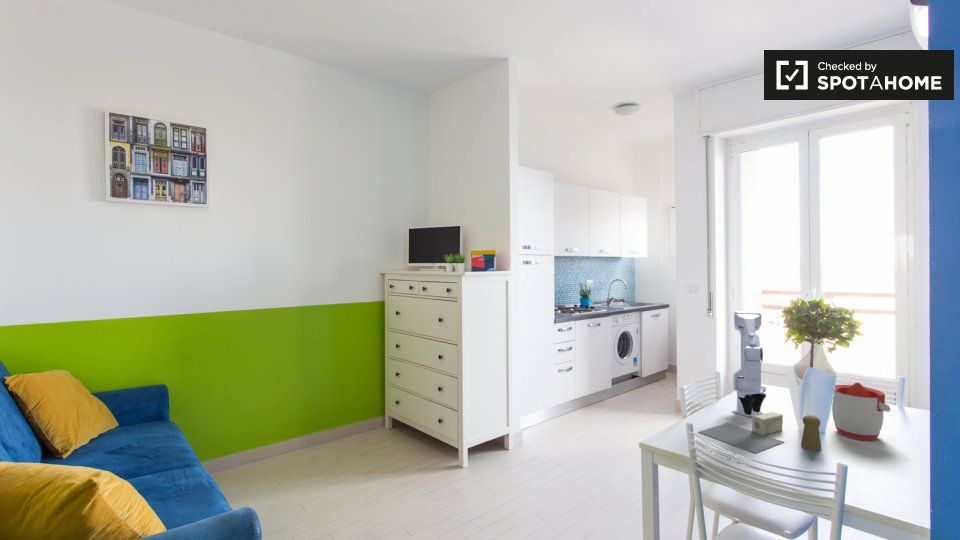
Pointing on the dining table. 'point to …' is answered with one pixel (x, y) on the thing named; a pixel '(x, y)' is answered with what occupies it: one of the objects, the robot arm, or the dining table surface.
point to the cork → (811, 433)
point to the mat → (741, 437)
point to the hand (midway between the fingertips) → (751, 412)
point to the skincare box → (767, 423)
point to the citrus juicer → (858, 411)
